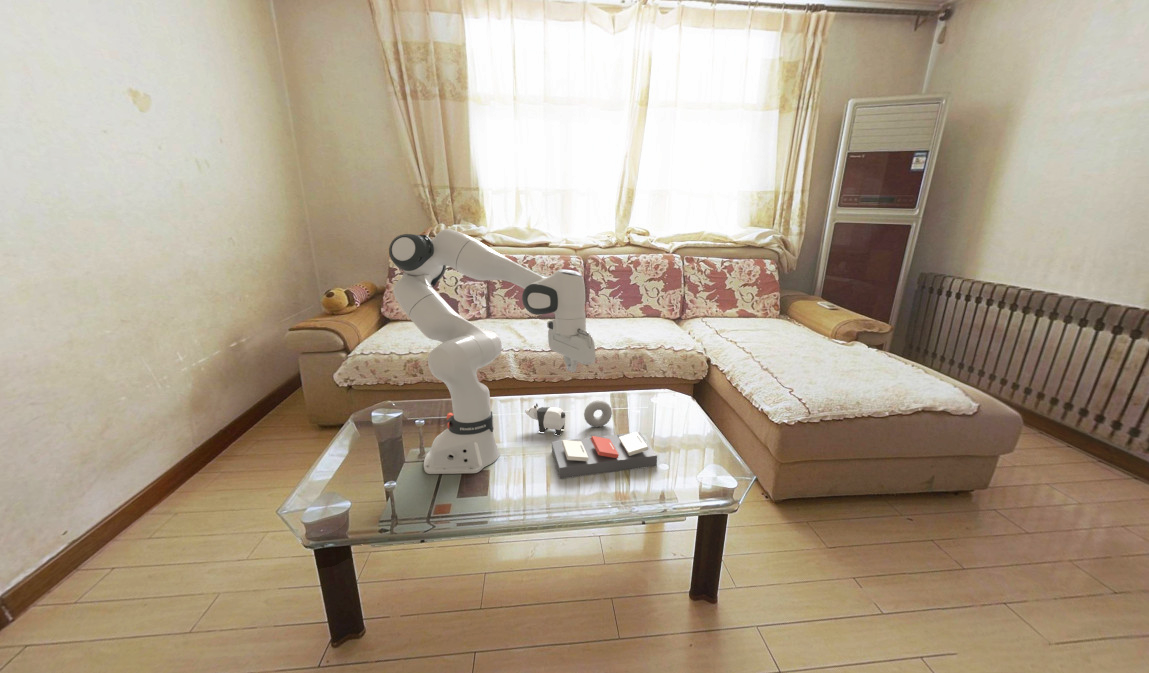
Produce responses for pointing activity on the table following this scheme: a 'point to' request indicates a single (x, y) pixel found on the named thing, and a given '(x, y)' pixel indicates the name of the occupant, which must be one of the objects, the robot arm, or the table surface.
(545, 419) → the giant panda
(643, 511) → the table surface
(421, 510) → the table surface
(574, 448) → the rocker left
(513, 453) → the table surface
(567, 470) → the rocker switch panel
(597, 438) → the rocker middle
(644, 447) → the rocker right
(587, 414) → the donut
